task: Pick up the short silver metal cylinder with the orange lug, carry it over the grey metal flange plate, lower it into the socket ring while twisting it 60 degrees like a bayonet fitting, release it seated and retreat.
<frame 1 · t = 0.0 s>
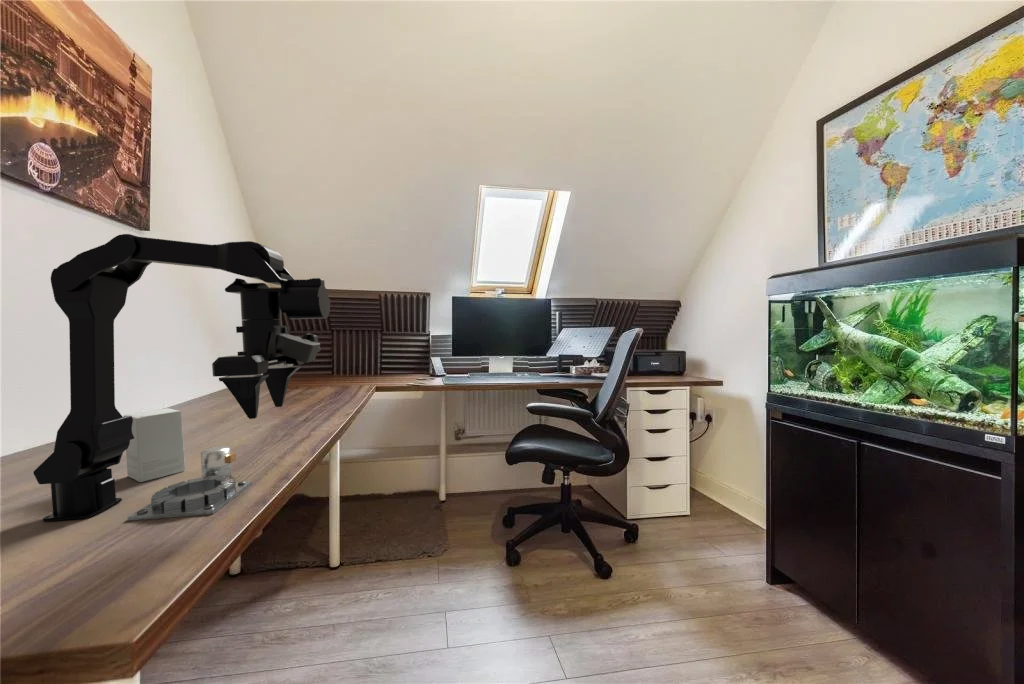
hand: (266, 412, 68), 15 cm above the table, fingers open, 9 cm apart
duct flange: (196, 500, 68), on the table
supplement box: (156, 474, 82), on the table
silver metal cylinder: (217, 480, 77), on the table
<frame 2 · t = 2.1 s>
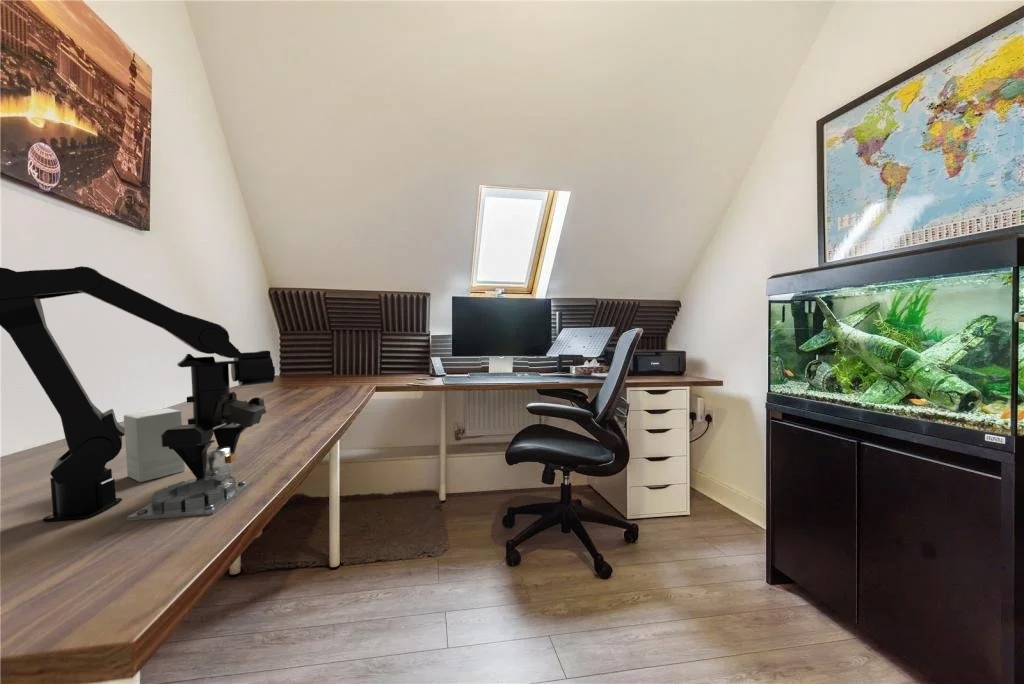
hand: (215, 470, 77), 2 cm above the table, fingers open, 8 cm apart
nothing on the table moved.
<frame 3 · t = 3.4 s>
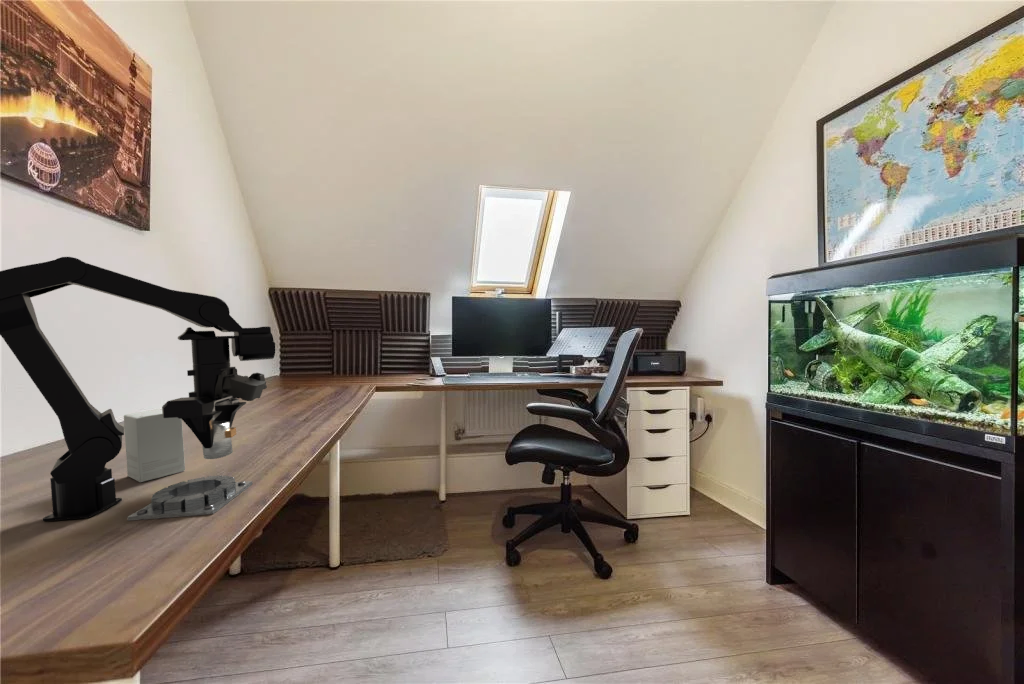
hand: (216, 444, 77), 7 cm above the table, fingers closed on silver metal cylinder, 5 cm apart
silver metal cylinder: (218, 454, 77), point 5 cm above the table, tilted 6°, touching gripper
everything else where it was.
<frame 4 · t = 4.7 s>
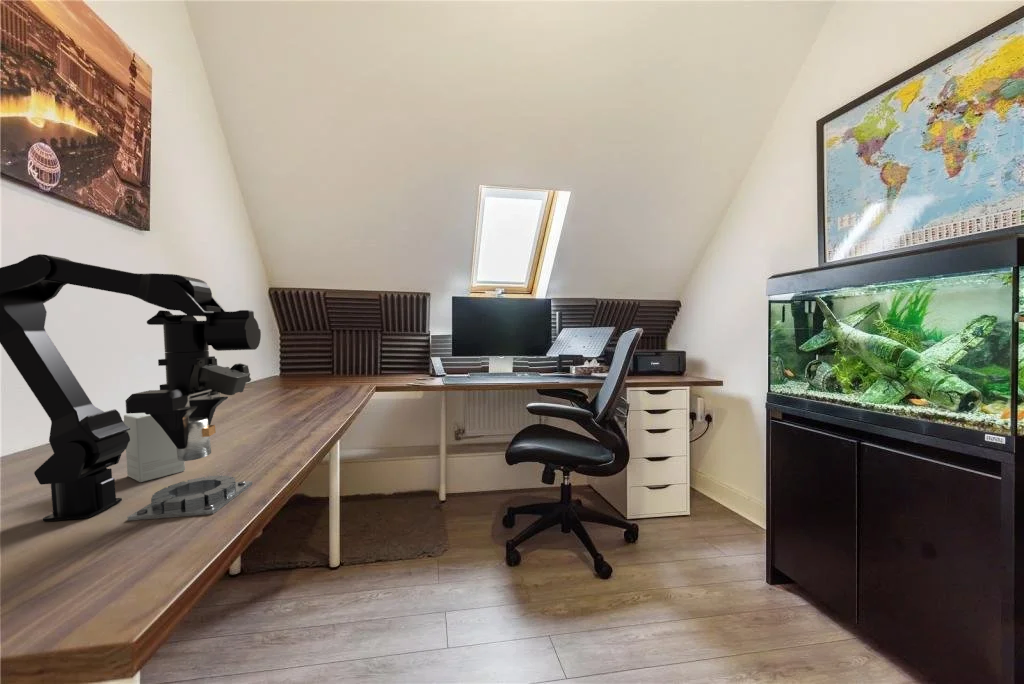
hand: (192, 444, 67), 10 cm above the table, fingers closed on silver metal cylinder, 5 cm apart
silver metal cylinder: (194, 455, 68), point 8 cm above the table, tilted 6°, touching gripper
everything else where it was.
when the fingers open (3 cm above the table, at t = 6.3 s): silver metal cylinder stays where it is, resting on duct flange.
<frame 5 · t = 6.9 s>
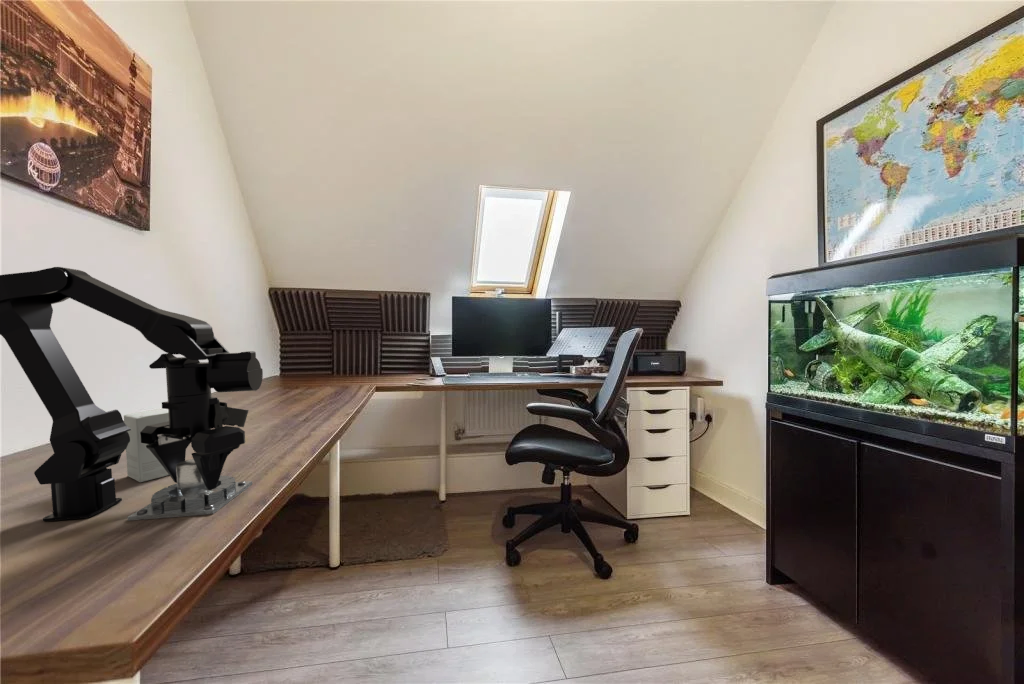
hand: (195, 485, 68), 3 cm above the table, fingers open, 9 cm apart
silver metal cylinder: (195, 496, 68), point 1 cm above the table, touching duct flange
everything else where it was.
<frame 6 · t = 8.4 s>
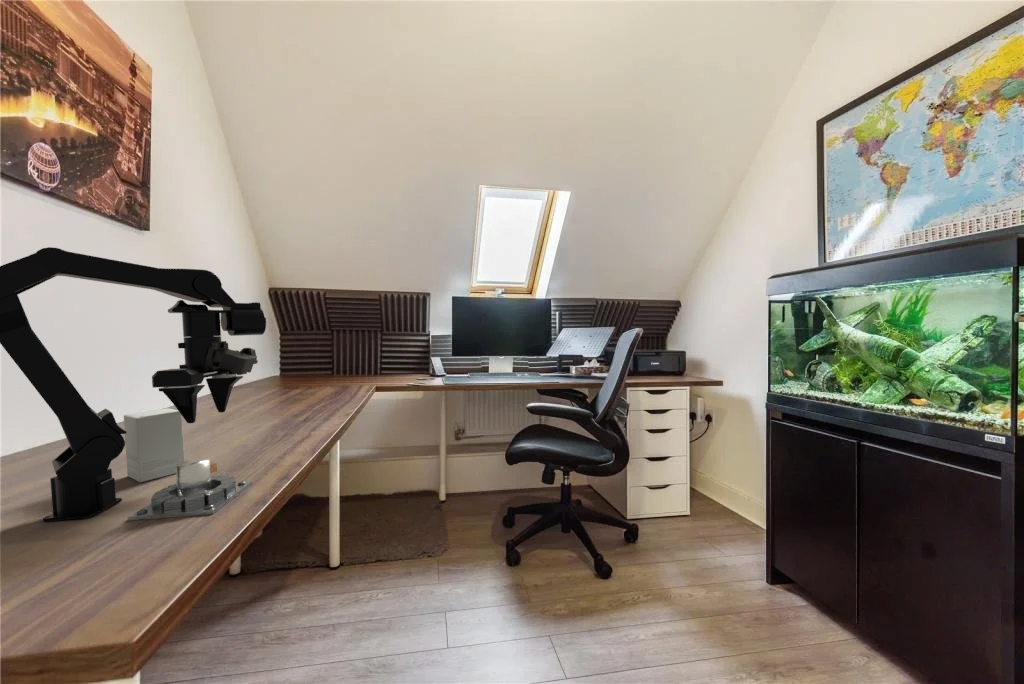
hand: (207, 417, 78), 12 cm above the table, fingers open, 9 cm apart
nothing on the table moved.
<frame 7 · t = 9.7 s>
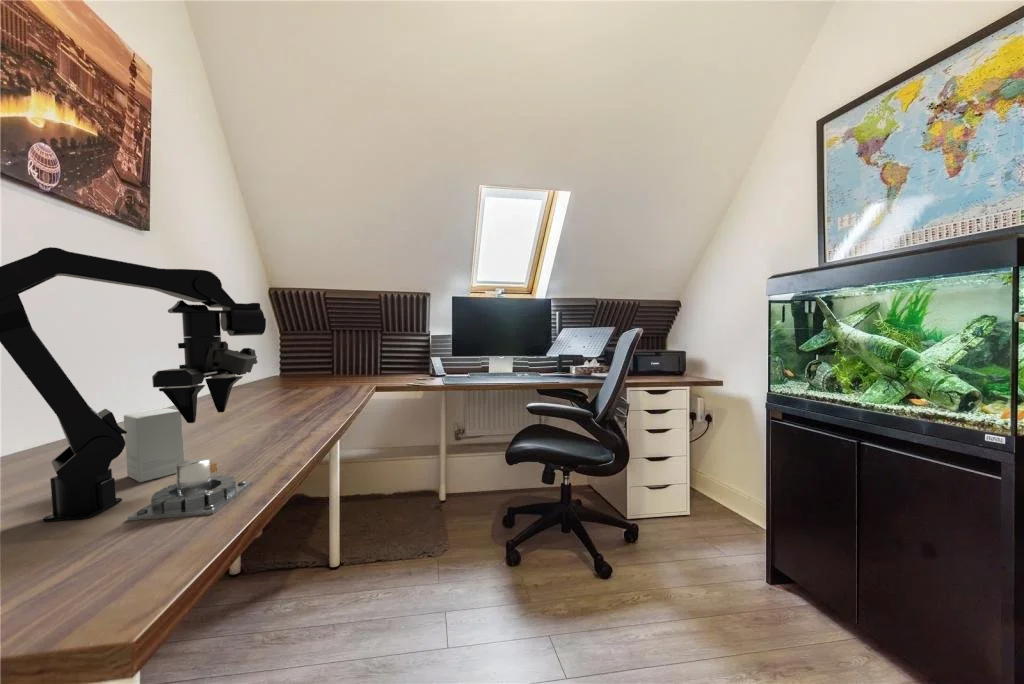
hand: (207, 417, 78), 12 cm above the table, fingers open, 9 cm apart
nothing on the table moved.
at the end: silver metal cylinder 0.2 cm off-centre on the duct flange, point 0.6 cm above the duct flange's base; silver metal cylinder tilted 0°; the gripper is holding nothing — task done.
